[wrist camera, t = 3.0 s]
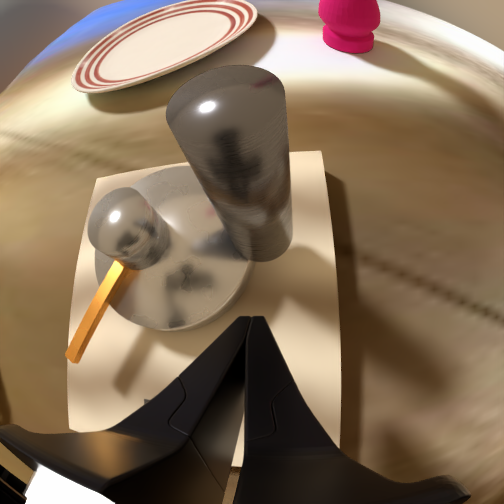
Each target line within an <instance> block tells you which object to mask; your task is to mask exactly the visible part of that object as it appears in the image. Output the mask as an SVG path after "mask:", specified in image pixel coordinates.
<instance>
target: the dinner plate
mask: <svg viewBox="0 0 504 504" xmlns="http://www.w3.org/2000/svg"><path fill="white" fill-rule="evenodd" d="M257 14H258V13H257V10H256V8H255V7H254V6H253V5H252V4H250V3H248V2H246V1H244V0H188V1H184V2H180V3H176V4H172V5H169V6H166V7H163V8H160V9H157V10H154V11H151V12H149V13H147V14H144V15H142V16H140V17H138V18H136V19H134V20H132V21H130V22H128V23H126V24H124V25H123V26H121V27H119V28H118V29H116V30H115V31H113V32H112V33H110V34H109V35H107V36H106V37H105V38H103V39H102V40H101V41H99V42H98V43H97V44H96V45H95V46H94V47H93V48H92V49H90V50H89V51H88V52H87V54H86V55H85V56H84V57H83V58H82V59H81V61H80V62H79V63H78V65H77V66H76V68H75V70H74V72H73V75H72V78H71V83H72V86H73V88H74V89H76V90H77V91H79V92H83V93H102V92H109V91H114V90H119V89H123V88H127V87H130V86H134V85H137V84H140V83H143V82H146V81H149V80H152V79H155V78H157V77H160V76H163V75H165V74H168V73H170V72H173V71H175V70H177V69H180V68H182V67H184V66H187V65H189V64H191V63H193V62H195V61H197V60H199V59H201V58H203V57H205V56H207V55H209V54H211V53H213V52H215V51H216V50H218V49H220V48H221V47H223V46H225V45H226V44H228V43H230V42H231V41H233V40H234V39H236V38H237V37H238V36H240V35H241V34H242V33H244V32H245V31H246V30H247V29H248V28H249V27H250V26H252V24H253V23H254V21H255V20H256V18H257Z"/></svg>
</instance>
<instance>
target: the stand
mask: <svg viewBox="0 0 504 504" xmlns="http://www.w3.org/2000/svg"><path fill="white" fill-rule="evenodd" d="M289 157H290V174H291V195H292V219H293V237H292V241H291V244H290V246H289V247H288V249H287V250H286V251H285V253H283V254H282V255H281V256H280V257H278V258H276V259H274V260H272V261H268V262H256V263H255V268H254V271H253V274H252V277H251V279H250V281H249V283H248V285H247V287H246V289H245V291H244V292H243V294H242V295H241V297H240V298H239V300H238V301H237V302H236V303H235V304H234V305H233V306H232V308H230V309H229V310H228V311H227V312H226V313H225V314H224V315H222V316H221V317H219V318H218V319H216V320H215V321H213V322H211V323H209V324H207V325H205V326H203V327H200V328H197V329H194V330H190V331H184V332H167V331H160V330H156V329H152V328H147V327H144V326H140V325H137V324H135V323H132V322H130V321H128V320H126V319H125V318H124V317H122V316H121V315H119V314H118V313H117V312H116V311H115V310H114V309H113V308H112V307H111V306H110V304H109V306H108V308H107V310H106V311H105V313H104V315H103V317H102V319H101V321H100V323H99V324H98V326H97V328H96V330H95V332H94V334H93V336H92V338H91V340H90V342H89V344H88V346H87V348H86V350H85V352H84V354H83V356H82V358H81V360H80V362H79V364H76V363H72V362H71V361H70V360H69V359H68V372H67V384H68V413H69V428H70V429H72V430H75V431H78V432H80V433H81V432H94V431H101V430H105V429H108V428H110V427H112V426H114V425H116V424H117V423H119V422H121V421H122V420H123V419H125V418H126V417H128V416H129V415H130V414H132V413H133V412H135V411H136V410H137V409H139V408H140V407H141V406H143V405H144V404H146V403H147V402H148V401H149V400H151V399H152V398H153V397H155V396H156V395H157V394H158V393H160V392H161V391H162V390H163V389H164V388H165V387H166V386H167V385H169V384H170V383H171V382H172V381H173V380H174V379H175V378H176V377H179V374H180V373H181V372H182V371H184V370H185V369H186V368H187V367H188V366H189V365H190V364H191V363H192V362H193V361H194V360H195V359H196V358H197V357H198V356H199V355H200V354H201V353H202V352H203V351H204V350H205V349H206V348H207V347H208V346H209V345H210V344H211V343H212V342H213V341H214V340H215V339H216V338H217V337H218V336H219V335H220V334H221V333H222V332H223V331H224V330H225V329H226V328H227V327H228V326H229V325H230V324H231V323H232V322H233V321H234V320H235V319H236V318H237V317H239V316H251V317H252V316H264V317H265V318H266V320H267V323H268V325H269V327H270V329H271V331H272V333H273V336H274V338H275V340H276V342H277V344H278V346H279V348H280V351H281V353H282V355H283V357H284V359H285V361H286V363H287V366H288V368H289V370H290V372H291V374H292V376H293V378H294V381H295V382H296V384H297V387H298V389H299V391H300V393H301V394H302V396H303V398H304V400H305V402H306V403H307V405H308V407H309V408H310V410H311V411H312V413H313V414H314V416H315V417H316V418H317V420H318V421H319V422H320V424H321V425H322V427H323V428H324V429H325V431H326V432H327V433H328V435H329V436H330V438H331V439H332V440H333V442H334V443H335V444H336V445H337V447H338V448H339V444H340V420H341V347H340V321H339V303H338V288H337V275H336V263H335V252H334V242H333V233H332V224H331V216H330V208H329V200H328V193H327V186H326V179H325V173H324V166H323V160H322V154H321V151H307V152H289ZM176 166H190V164H189V162H186V163H179V164H172V165H166V166H160V167H154V168H148V169H142V170H137V171H131V172H126V173H121V174H116V175H111V176H107V177H102V178H98V179H97V181H96V184H95V188H94V191H93V195H92V199H91V202H90V206H89V210H88V214H87V218H86V223H85V227H84V232H83V236H82V241H81V246H80V251H79V257H78V262H77V268H76V275H75V281H74V289H73V296H72V305H71V315H70V326H69V341H68V347H69V345H70V343H71V341H72V339H73V337H74V335H75V333H76V330H77V329H78V327H79V325H80V323H81V321H82V319H83V317H84V315H85V313H86V311H87V309H88V307H89V305H90V304H91V302H92V300H93V298H94V296H95V294H96V293H97V291H98V289H99V284H98V281H97V277H96V272H95V248H94V247H93V246H92V244H91V243H90V241H89V238H88V231H87V229H88V221H89V218H90V215H91V213H92V211H93V209H94V207H95V206H96V204H97V203H98V202H99V201H100V200H101V199H102V198H103V197H104V196H105V195H106V194H108V193H109V192H111V191H113V190H115V189H118V188H122V187H131V186H132V185H133V184H135V183H136V182H137V181H139V180H141V179H142V178H144V177H146V176H147V175H150V174H152V173H154V172H156V171H159V170H162V169H165V168H170V167H176ZM243 455H244V414H243V419H242V423H241V427H240V432H239V436H238V440H237V445H236V449H235V453H234V457H233V461H232V465H231V466H239V467H242V463H243Z"/></svg>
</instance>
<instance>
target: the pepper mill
mask: <svg viewBox="0 0 504 504" xmlns="http://www.w3.org/2000/svg"><path fill="white" fill-rule="evenodd" d="M318 13H319V16H320V18H321V19H322V20H323V22H324V23H325V24H326V25H325V26H324V27H323V40H324V42H325V43H326V44H327V45H328V46H330V47H332V48H334V49H337V50H340V51H344V52H349V53H364V52H368V51H369V50H371V49H372V47H373V41H374V35H373V33H372V32H371V31H373V30H375V29H376V28H377V27H378V26H379V24H380V11H379V7H378V4H377V1H376V0H320V3H319V11H318Z"/></svg>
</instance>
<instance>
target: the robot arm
mask: <svg viewBox="0 0 504 504" xmlns="http://www.w3.org/2000/svg"><path fill="white" fill-rule="evenodd" d="M243 414H244V455H243V463H242V467H241V471H240V476H239V480H238V484H237V488H236V492H235V496H234V500H233V504H462V503H464V502H465V501H467V500H468V499H469V498H470V497H471V494H470V492H469V490H468V489H467V488H466V487H465V486H464V485H463V484H462V483H461V482H459V481H458V480H457V479H455V478H454V477H452V476H450V475H442V476H437V477H433V478H430V479H426V480H423V481H419V482H414V483H400V482H395V481H392V480H389V479H387V478H385V477H383V476H382V475H380V474H378V473H376V472H374V471H372V470H370V469H369V468H367V467H365V466H363V465H361V464H360V463H358V462H356V461H355V460H353V459H351V458H349V457H348V456H347V455H345V454H344V453H343V452H342V451H341V450H340V449H339V448H338V447H337V445H336V444H335V443H334V442H333V440H332V439H331V438H330V436H329V435H328V433H327V432H326V431H325V429H324V428H323V427H322V425H321V424H320V422H319V421H318V420H317V418H316V417H315V416H314V414H313V413H312V411H311V410H310V408H309V407H308V405H307V403H306V402H305V400H304V398H303V396H302V394H301V393H300V391H299V389H298V387H297V384H296V382H295V381H294V378H293V376H292V374H291V372H290V370H289V368H288V366H287V363H286V361H285V359H284V357H283V355H282V353H281V351H280V348H279V346H278V344H277V342H276V340H275V338H274V336H273V333H272V331H271V329H270V327H269V325H268V323H267V320H266V318H265V317H264V316H252V317H251V316H239V317H237V318H236V319H235V320H234V321H233V322H232V323H231V324H230V325H229V326H228V327H227V328H226V329H225V330H224V331H223V332H222V333H221V334H220V335H219V336H218V337H217V338H216V339H215V340H214V341H213V342H212V343H211V344H210V345H209V346H208V347H207V348H206V349H205V350H204V351H203V352H202V353H201V354H200V355H199V356H198V357H197V358H196V359H195V360H194V361H193V362H192V363H191V364H190V365H189V366H188V367H187V368H186V369H185V370H184V371H182V372H181V373H180V374H179V377H176V378H175V379H174V380H173V381H172V382H171V383H170V384H169V385H167V386H166V387H165V388H164V389H163V390H162V391H161V392H160V393H158V394H157V395H156V396H155V397H153V398H152V399H151V400H149V401H148V402H147V403H146V404H144V405H143V406H141V407H140V408H139V409H137V410H136V411H135V412H133V413H132V414H130V415H129V416H128V417H126V418H125V419H123V420H122V421H121V422H119V423H117V424H116V425H114V426H112V427H110V428H108V429H105V430H101V431H94V432H81V433H63V434H39V433H33V432H29V431H27V430H25V429H23V428H21V427H20V426H18V425H15V424H8V425H1V426H0V442H1V443H2V444H3V445H4V446H5V447H6V448H7V449H8V450H10V451H11V452H12V453H13V454H14V455H15V456H16V457H18V458H19V459H20V460H21V461H22V462H23V463H25V464H26V465H27V466H28V467H30V468H31V469H32V470H33V473H32V475H31V477H30V479H29V481H28V483H27V484H25V483H24V482H23V481H21V480H20V479H18V478H17V477H16V476H14V475H13V474H12V473H10V472H9V471H8V470H7V469H5V468H4V467H3V466H2V465H0V504H222V502H223V498H224V494H225V493H224V492H225V489H226V486H227V482H228V478H229V473H230V469H231V465H232V461H233V457H234V453H235V449H236V445H237V440H238V436H239V432H240V427H241V423H242V419H243Z"/></svg>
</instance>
